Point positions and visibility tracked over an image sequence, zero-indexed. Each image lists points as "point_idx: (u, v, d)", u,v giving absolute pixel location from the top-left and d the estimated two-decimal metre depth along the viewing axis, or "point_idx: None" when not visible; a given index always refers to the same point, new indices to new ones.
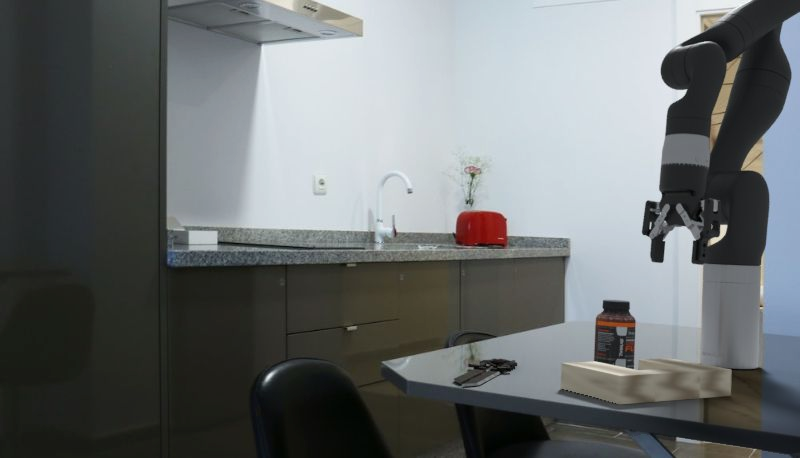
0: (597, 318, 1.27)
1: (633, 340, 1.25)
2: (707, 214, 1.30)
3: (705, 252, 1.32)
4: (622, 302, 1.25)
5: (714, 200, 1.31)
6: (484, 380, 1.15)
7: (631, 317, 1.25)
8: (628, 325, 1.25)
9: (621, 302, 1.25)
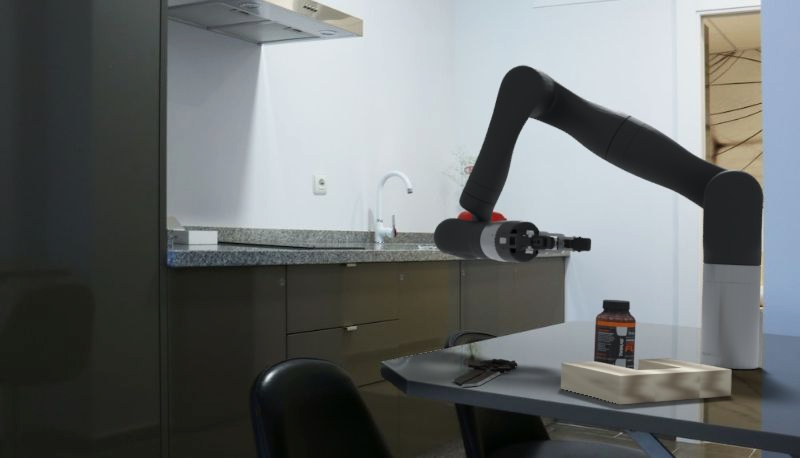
0: (597, 318, 1.27)
1: (633, 340, 1.25)
2: None
3: (536, 239, 1.36)
4: (622, 302, 1.25)
5: (499, 241, 1.43)
6: (484, 380, 1.15)
7: (631, 317, 1.25)
8: (628, 325, 1.25)
9: (621, 302, 1.25)
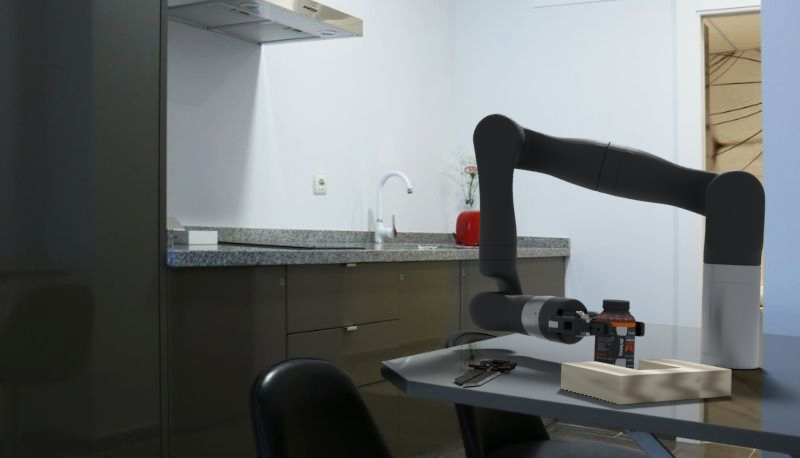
0: (597, 318, 1.27)
1: (633, 340, 1.25)
2: (561, 332, 1.29)
3: (596, 326, 1.25)
4: (622, 302, 1.25)
5: (549, 324, 1.30)
6: (485, 380, 1.15)
7: (631, 316, 1.25)
8: (628, 324, 1.24)
9: (621, 301, 1.25)
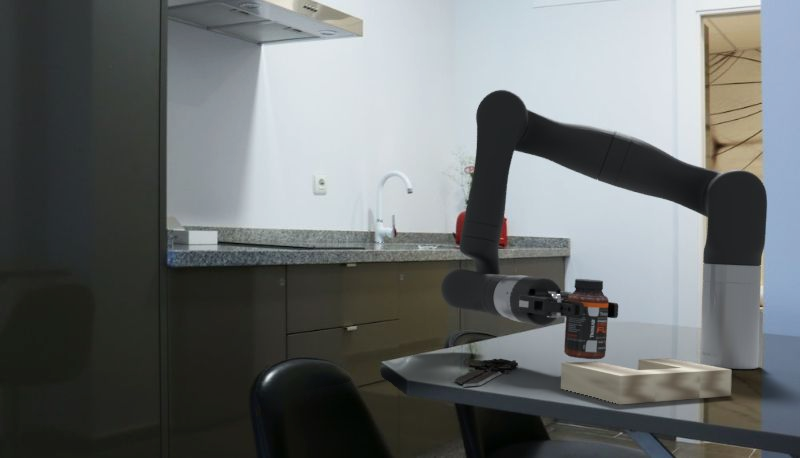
0: (568, 298, 1.22)
1: (605, 321, 1.20)
2: (532, 312, 1.24)
3: (567, 306, 1.20)
4: (595, 281, 1.20)
5: (519, 304, 1.25)
6: (485, 380, 1.15)
7: (604, 297, 1.20)
8: (601, 305, 1.20)
9: (593, 281, 1.20)
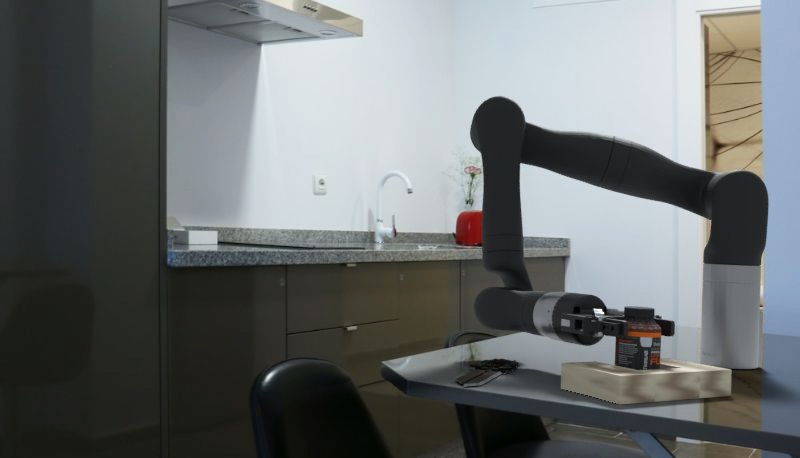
0: None
1: (659, 352, 1.12)
2: None
3: (609, 325, 1.11)
4: (646, 309, 1.12)
5: (561, 323, 1.17)
6: (486, 380, 1.15)
7: (656, 326, 1.12)
8: (654, 334, 1.11)
9: (645, 309, 1.12)
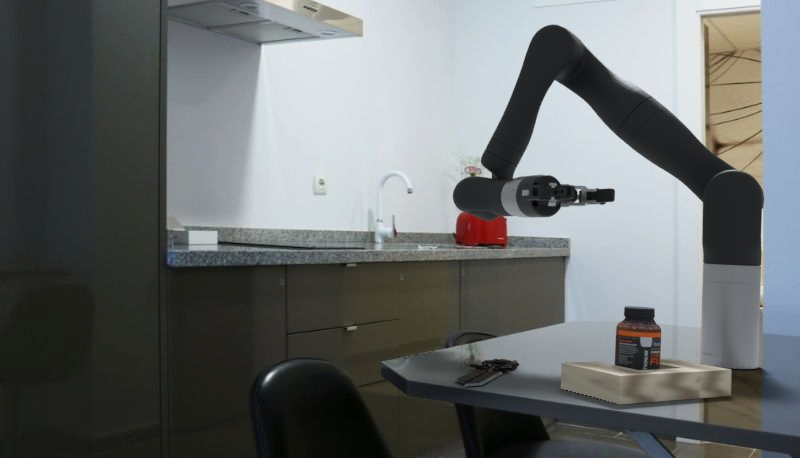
0: (618, 327, 1.13)
1: (659, 352, 1.12)
2: (531, 199, 1.39)
3: (560, 189, 1.35)
4: (646, 309, 1.12)
5: (522, 193, 1.41)
6: (487, 380, 1.15)
7: (656, 326, 1.12)
8: (654, 334, 1.11)
9: (645, 309, 1.12)
